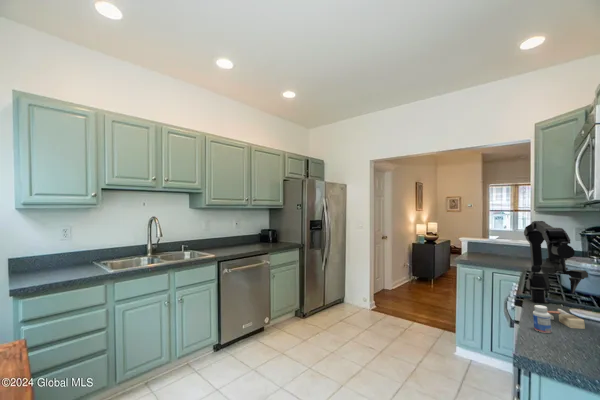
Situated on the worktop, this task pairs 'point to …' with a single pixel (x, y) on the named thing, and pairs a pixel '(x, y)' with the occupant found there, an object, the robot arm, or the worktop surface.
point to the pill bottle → (541, 319)
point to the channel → (557, 312)
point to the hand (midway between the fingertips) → (559, 290)
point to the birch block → (571, 321)
